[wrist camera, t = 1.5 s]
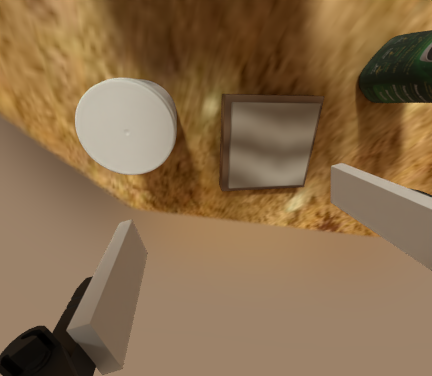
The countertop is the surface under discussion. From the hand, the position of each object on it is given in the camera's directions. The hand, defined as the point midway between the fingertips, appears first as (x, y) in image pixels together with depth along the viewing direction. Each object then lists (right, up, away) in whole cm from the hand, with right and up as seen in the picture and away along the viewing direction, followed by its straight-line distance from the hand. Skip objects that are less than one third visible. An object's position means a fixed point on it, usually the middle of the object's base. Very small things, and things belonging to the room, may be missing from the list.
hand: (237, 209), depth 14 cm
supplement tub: (-12, +13, +20) cm, 27 cm away
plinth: (+7, +10, +25) cm, 28 cm away
